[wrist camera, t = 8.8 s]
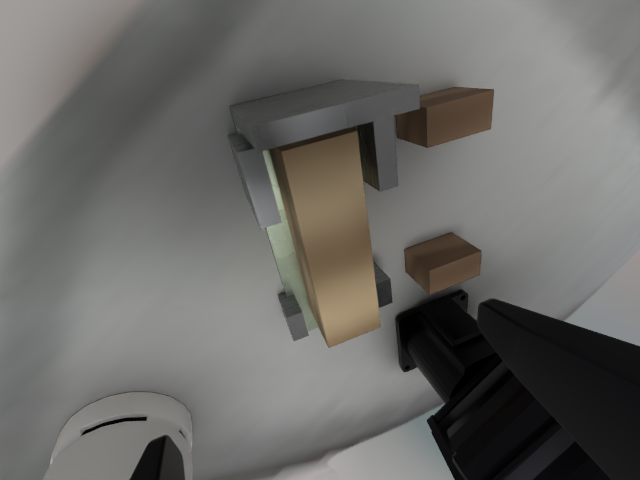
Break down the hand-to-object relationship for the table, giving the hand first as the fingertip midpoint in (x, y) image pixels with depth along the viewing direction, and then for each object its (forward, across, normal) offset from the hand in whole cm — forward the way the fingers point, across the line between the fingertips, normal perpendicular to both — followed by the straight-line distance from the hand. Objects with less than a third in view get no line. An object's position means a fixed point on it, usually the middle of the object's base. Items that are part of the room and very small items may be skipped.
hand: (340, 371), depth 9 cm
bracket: (+12, -3, +2) cm, 13 cm away
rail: (+12, -3, +2) cm, 12 cm away
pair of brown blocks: (+12, -11, +2) cm, 16 cm away
